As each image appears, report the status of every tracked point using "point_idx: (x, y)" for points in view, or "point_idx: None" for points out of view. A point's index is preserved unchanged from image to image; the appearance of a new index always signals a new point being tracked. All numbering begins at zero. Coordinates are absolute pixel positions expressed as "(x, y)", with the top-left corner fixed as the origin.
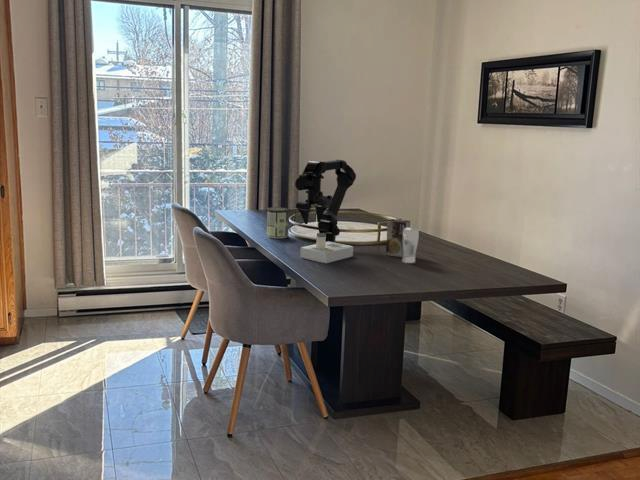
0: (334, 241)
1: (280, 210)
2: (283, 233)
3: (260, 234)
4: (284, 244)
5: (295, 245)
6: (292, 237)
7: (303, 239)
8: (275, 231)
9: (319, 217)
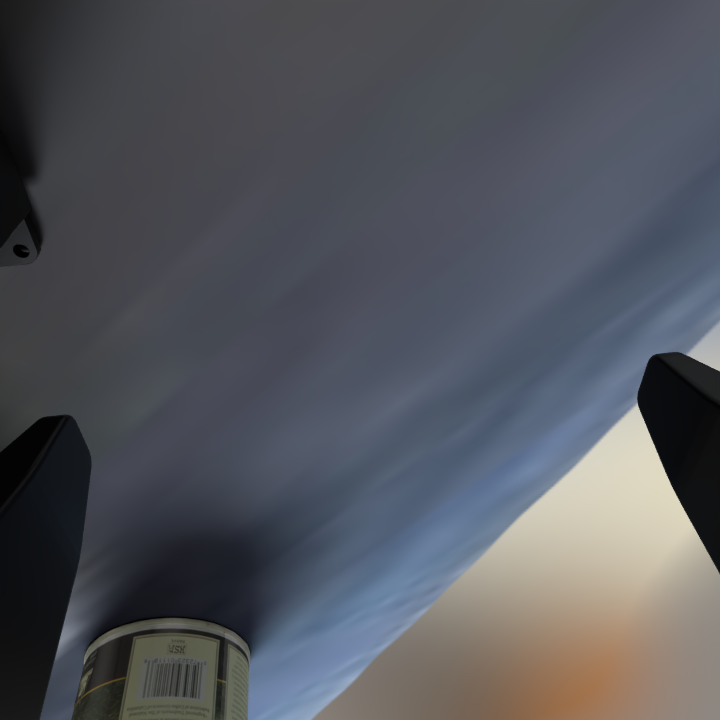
0: None
1: None
2: (156, 657)
3: None
4: (326, 487)
5: (265, 422)
6: None
7: None
8: (224, 687)
9: (24, 540)
